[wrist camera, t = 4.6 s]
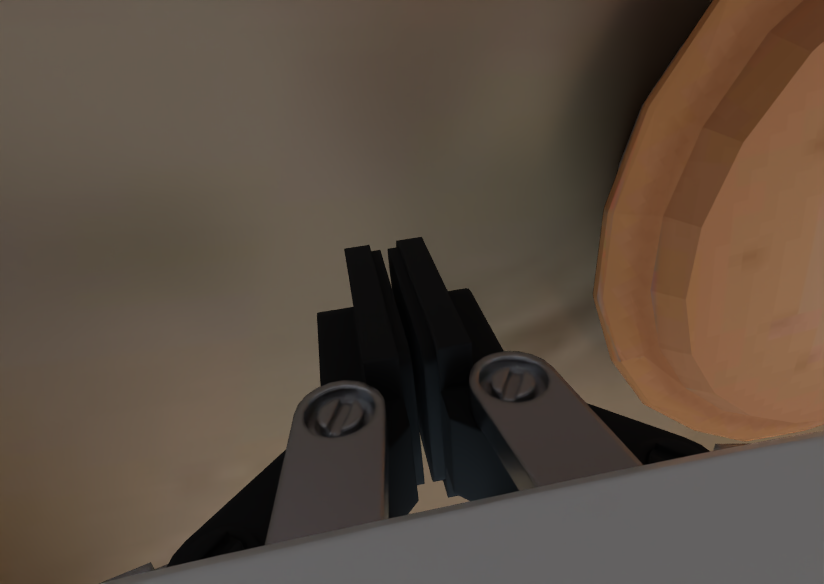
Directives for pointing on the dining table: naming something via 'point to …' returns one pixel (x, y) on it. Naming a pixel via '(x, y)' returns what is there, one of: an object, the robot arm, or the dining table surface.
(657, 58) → the dining table surface
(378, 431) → the robot arm
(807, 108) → the pie
